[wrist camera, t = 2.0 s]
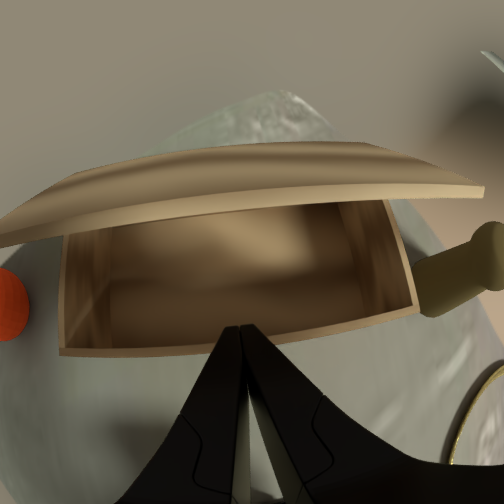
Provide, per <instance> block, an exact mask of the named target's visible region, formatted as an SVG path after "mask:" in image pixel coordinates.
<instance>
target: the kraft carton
mask: <svg viewBox="0 0 504 504" xmlns="http://www.w3.org/2000/svg"><path fill="white" fill-rule="evenodd" d="M418 312H420V307H419V302H418V297H417V293H416V289H415V285H414V281H413V277H412V273H411V269H410V265H409V262H408V258H407V255H406V251H405V248H404V245H403V241H402V238H401V235H400V232H399V229H398V226H397V223H396V220H395V217H394V214H393V211H392V209H391V206H390V203H389V201H388V199H381V200H360V201H342V202H326V203H311V204H298V205H286V206H274V207H263V208H253V209H243V210H233V211H224V212H215V213H207V214H198V215H190V216H182V217H175V218H167V219H160V220H153V221H146V222H139V223H132V224H126V225H120V226H113V227H107V228H101V229H95V230H89V231H84V232H78V233H73V234H67V235H64V236H63V244H62V253H61V263H60V276H59V295H58V334H59V353H60V356H73V357H103V358H130V357H162V356H180V355H194V354H206V353H211V352H212V350H213V348H214V346H215V344H216V342H217V340H218V338H219V336H220V335H221V333H222V331H223V329H224V327H226V326H234V325H238V326H239V327H240V325H242V324H250V323H253V324H255V325H256V326H257V327H258V328H259V329H260V330H261V331H262V333H263V334H264V335H265V336H266V337H267V338H268V339H269V340H270V341H271V342H272V343H273V344H274V345H278V344H284V343H290V342H296V341H302V340H307V339H312V338H318V337H323V336H328V335H332V334H337V333H342V332H346V331H351V330H355V329H359V328H363V327H367V326H371V325H375V324H379V323H383V322H387V321H390V320H394V319H397V318H401V317H404V316H408V315H411V314H414V313H418ZM239 329H240V328H239Z"/></svg>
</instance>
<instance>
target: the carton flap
mask: <svg viewBox="0 0 504 504" xmlns="http://www.w3.org/2000/svg"><path fill="white" fill-rule="evenodd" d="M484 189H485V187H484V186H482V185H480V184H478V183H476V182H474V181H471V180H469V179H467V178H465V177H462V176H460V175H458V174H455V173H453V172H450V171H448V170H445V169H443V168H440V167H438V166H435V165H432V164H430V163H427V162H425V161H421V160H419V159H416V158H413V157H410V156H407V155H404V154H401V153H398V152H395V151H391V150H388V149H385V148H382V147H378V146H375V145H371V144H367V143H361V142H323V141H313V142H274V143H256V144H242V145H231V146H220V147H211V148H202V149H194V150H187V151H180V152H173V153H167V154H161V155H155V156H149V157H144V158H138V159H133V160H129V161H124V162H119V163H114V164H110V165H105V166H101V167H97V168H93V169H89V170H85V171H81V172H77V173H74V174H73V175H71V176H69V177H67V178H65V179H63V180H62V181H60V182H58V183H56V184H54V185H53V186H51V187H49V188H48V189H46V190H44V191H43V192H41V193H39V194H38V195H36V196H35V197H33V198H31V199H30V200H28V201H27V202H25V203H23V204H22V205H20V206H19V207H17V208H16V209H15V210H13V211H12V212H10V213H9V214H7V215H6V216H4V217H3V218H2V219H0V248H4V247H9V246H13V245H18V244H22V243H27V242H32V241H37V240H42V239H47V238H52V237H57V236H62V235H67V234H73V233H78V232H84V231H89V230H95V229H101V228H107V227H113V226H120V225H126V224H132V223H139V222H146V221H153V220H160V219H167V218H175V217H182V216H190V215H198V214H207V213H215V212H224V211H233V210H243V209H253V208H263V207H274V206H286V205H298V204H311V203H326V202H342V201H360V200H381V199H411V198H483V195H484Z"/></svg>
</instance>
